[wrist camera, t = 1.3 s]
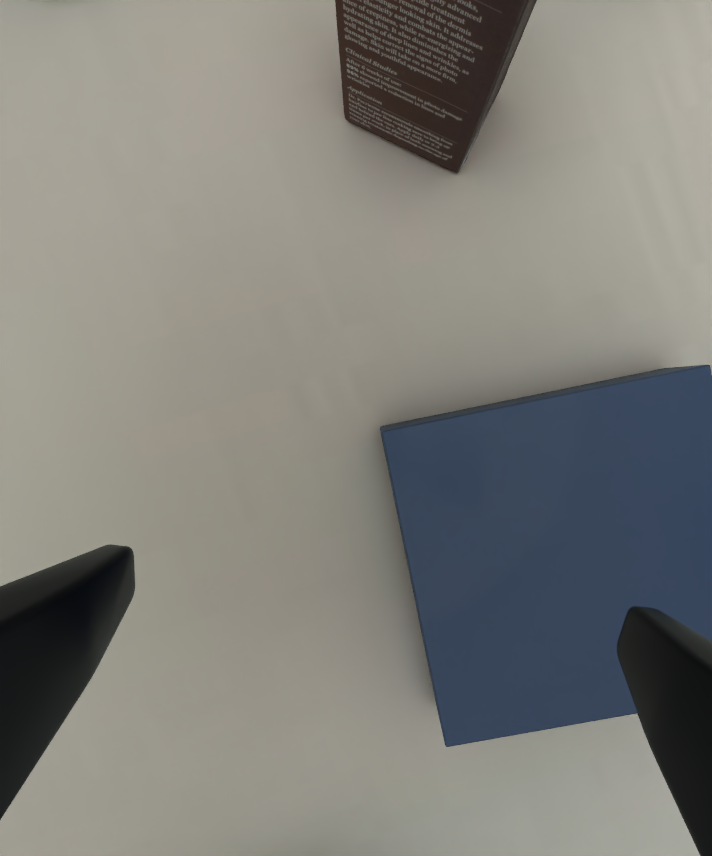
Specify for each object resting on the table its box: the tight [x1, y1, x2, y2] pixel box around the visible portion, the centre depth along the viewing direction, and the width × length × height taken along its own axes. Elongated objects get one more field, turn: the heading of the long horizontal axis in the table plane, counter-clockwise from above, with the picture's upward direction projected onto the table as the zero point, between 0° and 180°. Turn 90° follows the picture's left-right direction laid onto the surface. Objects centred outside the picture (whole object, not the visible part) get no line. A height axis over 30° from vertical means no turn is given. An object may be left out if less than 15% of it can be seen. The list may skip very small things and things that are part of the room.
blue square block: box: [380, 365, 712, 747], centre depth 22 cm, size 14×14×3 cm
